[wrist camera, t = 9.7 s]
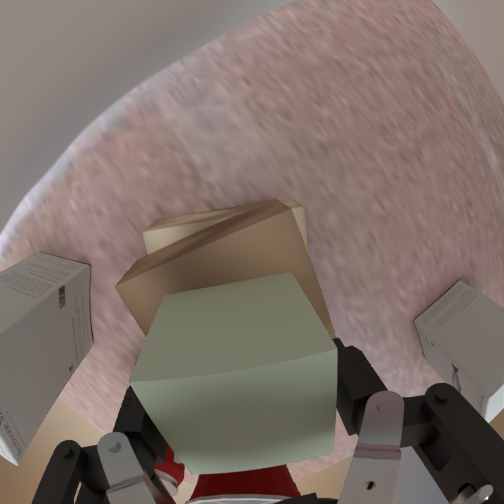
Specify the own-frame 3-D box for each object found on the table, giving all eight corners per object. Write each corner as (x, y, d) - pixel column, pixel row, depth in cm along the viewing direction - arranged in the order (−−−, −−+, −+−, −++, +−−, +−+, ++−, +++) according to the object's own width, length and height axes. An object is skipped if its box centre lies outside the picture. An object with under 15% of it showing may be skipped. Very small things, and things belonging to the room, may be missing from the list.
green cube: (291, 271, 13) (337, 348, 7) (302, 367, 15) (333, 452, 9) (164, 294, 13) (128, 381, 7) (197, 386, 14) (191, 474, 9)
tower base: (289, 198, 20) (304, 206, 16) (299, 314, 23) (312, 341, 19) (157, 219, 19) (142, 232, 16) (185, 332, 22) (180, 362, 19)
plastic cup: (185, 389, 24) (174, 499, 12) (296, 392, 25) (328, 494, 14) (189, 447, 27) (185, 530, 15) (277, 448, 28) (294, 528, 17)
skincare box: (94, 344, 21) (27, 474, 7) (43, 327, 21) (-37, 430, 6) (91, 258, 19) (-35, 377, 5) (35, 245, 18) (-90, 328, 4)
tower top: (275, 198, 16) (291, 208, 12) (321, 321, 19) (341, 356, 15) (137, 259, 16) (114, 286, 12) (203, 367, 19) (200, 407, 15)
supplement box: (410, 320, 24) (489, 398, 12) (459, 277, 23) (544, 332, 11) (422, 360, 26) (482, 430, 14) (466, 321, 25) (531, 377, 13)
